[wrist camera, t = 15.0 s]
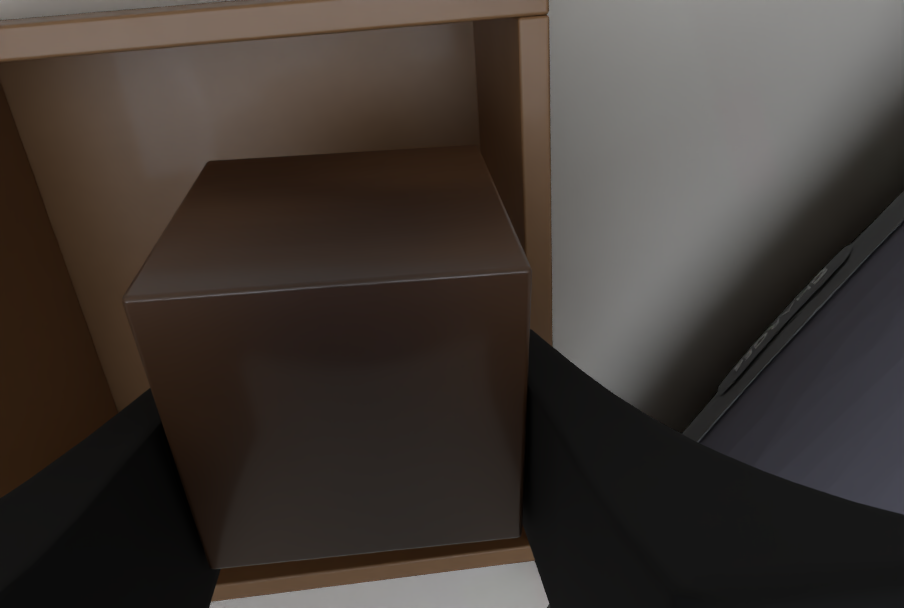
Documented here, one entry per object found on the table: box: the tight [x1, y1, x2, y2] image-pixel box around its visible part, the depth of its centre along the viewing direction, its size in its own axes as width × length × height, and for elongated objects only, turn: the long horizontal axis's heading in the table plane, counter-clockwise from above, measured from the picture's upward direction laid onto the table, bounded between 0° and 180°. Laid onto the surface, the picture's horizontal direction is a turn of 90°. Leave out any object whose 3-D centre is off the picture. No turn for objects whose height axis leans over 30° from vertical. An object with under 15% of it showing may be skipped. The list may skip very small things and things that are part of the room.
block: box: [122, 145, 532, 569], centre depth 10 cm, size 4×4×4 cm
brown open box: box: [0, 0, 553, 602], centre depth 15 cm, size 12×12×6 cm
